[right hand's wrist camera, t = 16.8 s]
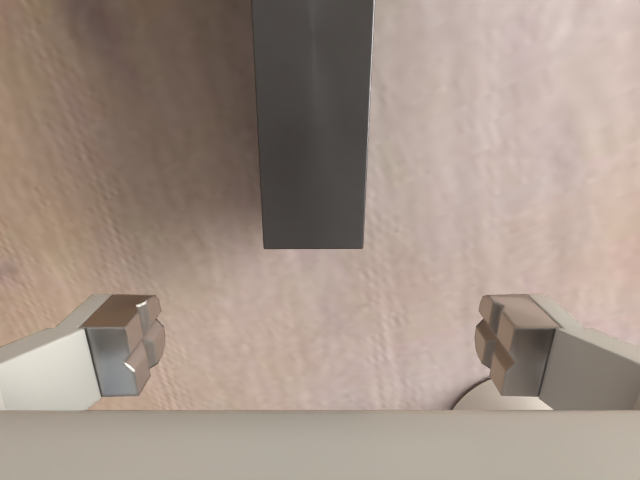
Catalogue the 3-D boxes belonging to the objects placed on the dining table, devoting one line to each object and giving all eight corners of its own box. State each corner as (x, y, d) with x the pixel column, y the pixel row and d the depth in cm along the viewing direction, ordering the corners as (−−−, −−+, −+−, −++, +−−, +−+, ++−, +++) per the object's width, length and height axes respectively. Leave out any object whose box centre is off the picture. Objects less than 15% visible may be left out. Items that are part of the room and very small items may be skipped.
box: (349, 205, 33) (363, 249, 24) (276, 205, 33) (263, 249, 24) (361, -154, 25) (389, -285, 16) (263, -156, 24) (236, -289, 16)
